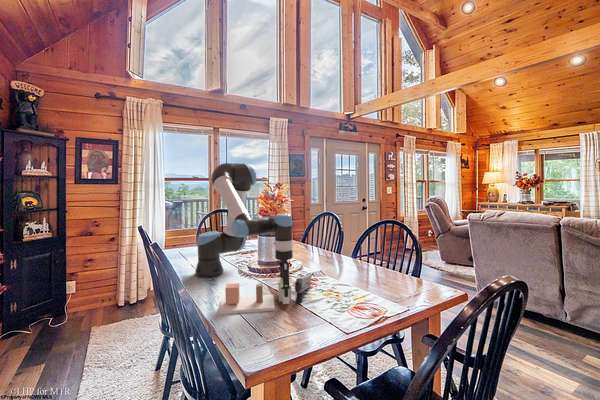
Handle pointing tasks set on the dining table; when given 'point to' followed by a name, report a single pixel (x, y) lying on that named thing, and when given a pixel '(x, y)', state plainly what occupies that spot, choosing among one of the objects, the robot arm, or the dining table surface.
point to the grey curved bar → (302, 286)
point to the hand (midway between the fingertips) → (284, 297)
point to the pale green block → (280, 292)
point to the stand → (245, 301)
